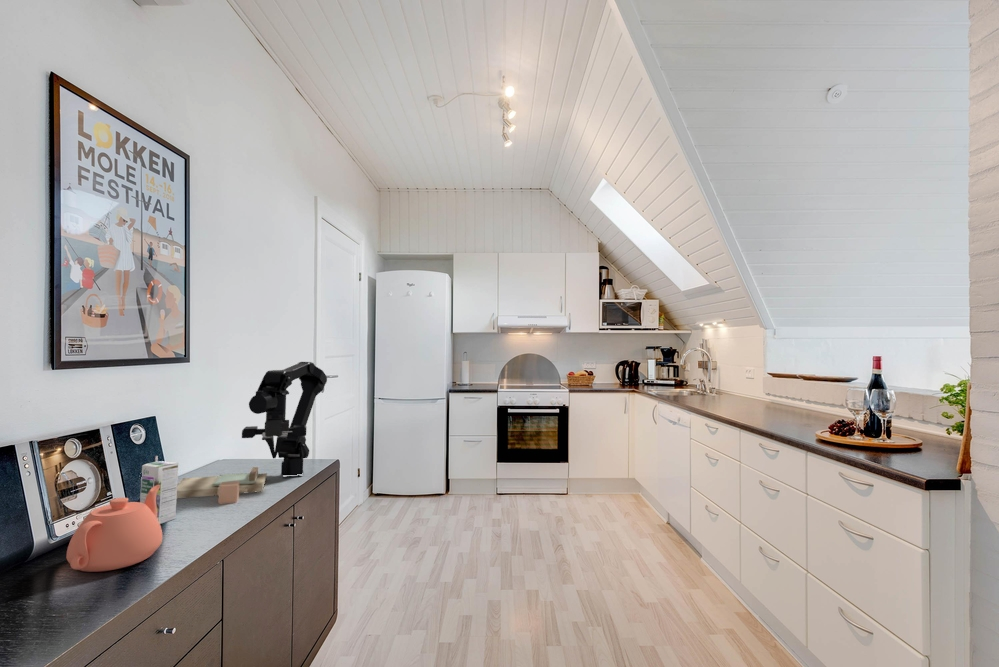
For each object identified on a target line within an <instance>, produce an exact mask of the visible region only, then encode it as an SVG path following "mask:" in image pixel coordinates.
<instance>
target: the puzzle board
mask: <svg viewBox="0 0 999 667" xmlns="http://www.w3.org/2000/svg"><path fill="white" fill-rule="evenodd" d="M219 476H220V475H219ZM219 476H218V475H215V476H201V477H185V478H182V479H181V480H180V481H179V482H177V499H185V498H186V497H187V498H199V497H200V498H201V497H212V496H214V495H215V496H219V486H213V484H214V482H215V481H216V480H217V478H218V477H219ZM266 478H268V474H267V472H266V473H265V472H264V473H258V476H257V478H256V480H255V482H254V483H253V484H239V493H243V494H245V493H244V492H255V491H262V490H264V488H263V487H265V485H266V482H265V481H267V480H266ZM264 484H265V485H264ZM262 492H263V491H262ZM215 496H214V497H215ZM187 498H186V499H187Z"/></svg>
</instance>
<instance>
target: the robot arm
mask: <svg viewBox="0 0 999 667" xmlns="http://www.w3.org/2000/svg"><path fill="white" fill-rule="evenodd" d="M296 379H299V381H300V388H301V389H302V392H301V396H300V398H299V401H298V404H297V407H296V409H295V412H294V415H293V416H292V420H291V423H290V419H286V415H287V412H286V411H287V408H286V407H287V395H289V394H290V392H289V390H287V389H288V388H289V387H290V386H291V385H292V384H293V381H294V380H296ZM327 382H328V377H327V374H325V372H324V370H323V369H321V368H320V367H318V366H316V365H315V364H314V362H312V361H300V362H297V364H294V365H292V366H289V367H286V368H284V369H272V370H268V371H266V372H265V374H264V375H263V377H262V379H261V381H260V384H259V386H258V388H257V390H256V391H255V395H254V396H252V397H251V398H250V400H249V402H248V408H249V410H250V411H251V412H252V413H253V414H256V415H259V414H264V413H265V414H266V415H265V421H264V428H258V425H255V426H253V425H252V426H250V425H249V426H245V427H244V428H243V429H242V430H241V439H252V438H254V437H255V436H257V435H258V436H259V435H261V436H262V437H261V440H262V441H265V442H266V444H267V445H268V448H269V450H270V455H271V456H272V459H276V458H277V457H278V458H279V459H281V458H283V460H282V461H281V465H280V466H281V471H280V473H281V474H280V475H281V476H282V475H297V474H302V473H303V474H304V459H308V457H309V455H310V449H309V446H308V445H307V444H306V441H307V439H306V436H307V423H308V421H309V418H310V414H311V412H312V409H313V405H314V402H315V400H316V397H317V396H318V395H319V394H320V393H321V392H322V391H323V390H324V388H325V386H326V384H327ZM275 437H276V442H275V440H274V438H275ZM277 455H278V456H277Z"/></svg>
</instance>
